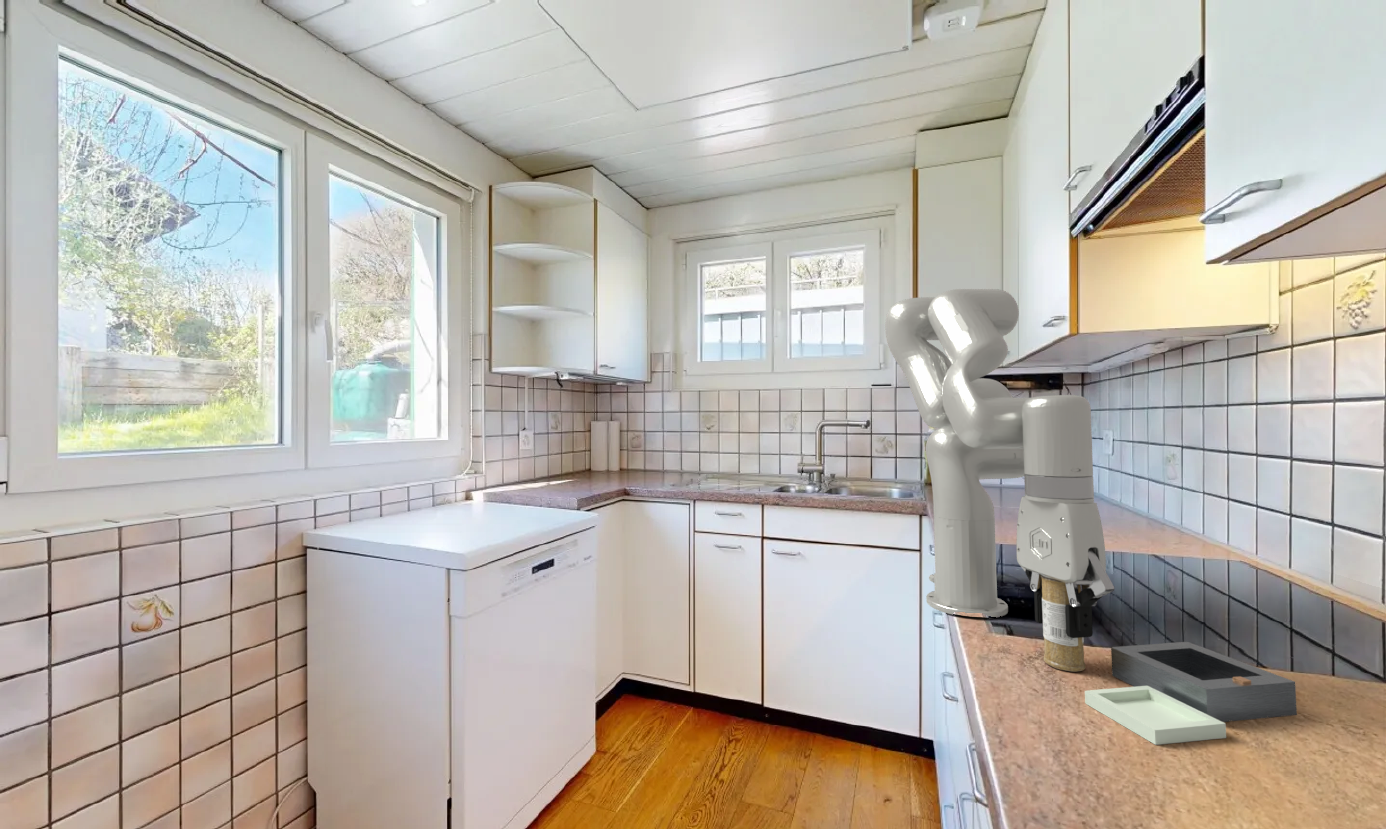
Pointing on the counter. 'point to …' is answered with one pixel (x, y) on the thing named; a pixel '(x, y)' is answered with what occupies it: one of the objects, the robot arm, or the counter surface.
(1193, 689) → the block
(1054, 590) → the spice jar
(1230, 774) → the counter surface
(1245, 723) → the counter surface
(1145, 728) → the tray
